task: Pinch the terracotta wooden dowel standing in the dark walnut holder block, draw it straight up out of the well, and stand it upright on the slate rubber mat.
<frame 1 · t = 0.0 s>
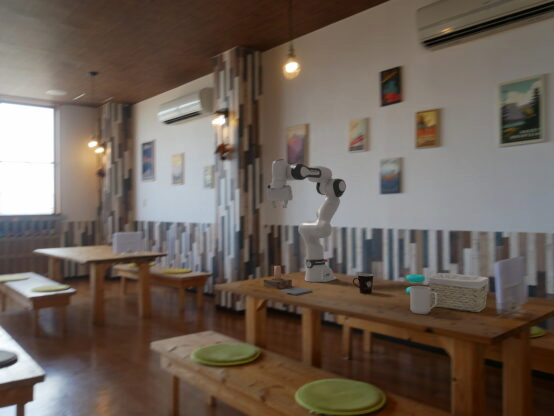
hand: (279, 208, 275), 48 cm above the table, fingers open, 8 cm apart
mug: (423, 313, 204), on the table
holder block: (277, 287, 271), on the table
slate mat: (295, 292, 257), on the table
storage basket: (458, 307, 213), on the table
donuts: (415, 293, 247), on the table
dowel pin: (277, 286, 271), point 1 cm above the table, touching holder block
coffee mug: (363, 293, 252), on the table
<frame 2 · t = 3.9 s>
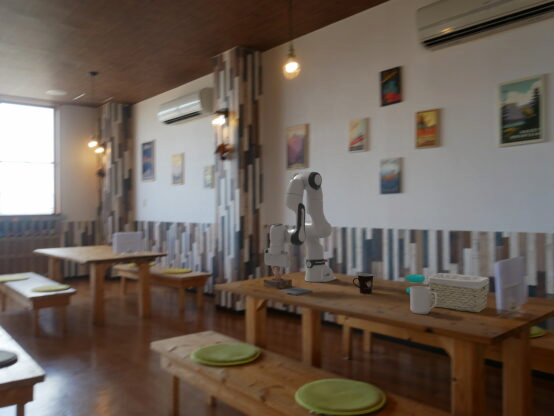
hand: (277, 273, 271), 9 cm above the table, fingers closed on dowel pin, 4 cm apart
dowel pin: (277, 286, 271), point 1 cm above the table, touching gripper, holder block
everything else where it was.
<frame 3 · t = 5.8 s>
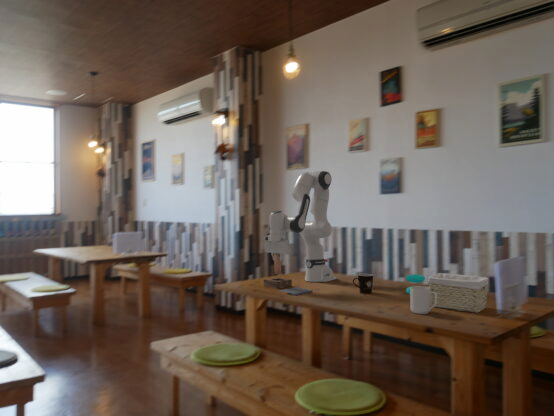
hand: (277, 260, 271), 16 cm above the table, fingers closed on dowel pin, 4 cm apart
dowel pin: (278, 273, 271), point 9 cm above the table, touching gripper
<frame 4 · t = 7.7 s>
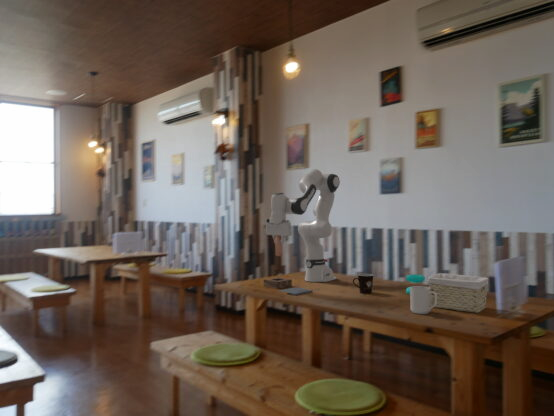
hand: (278, 243, 269), 27 cm above the table, fingers closed on dowel pin, 4 cm apart
dowel pin: (278, 255, 269), point 20 cm above the table, touching gripper
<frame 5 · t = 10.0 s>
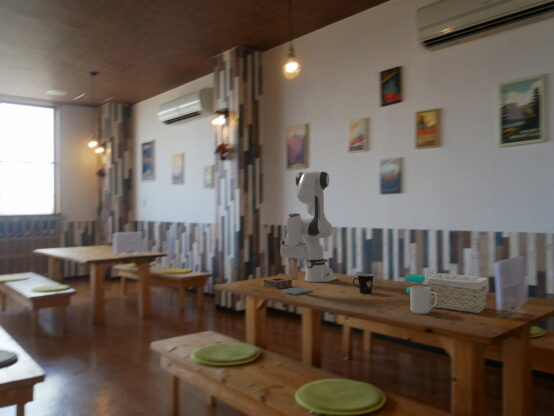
hand: (294, 266, 257), 15 cm above the table, fingers closed on dowel pin, 4 cm apart
dowel pin: (294, 279, 257), point 7 cm above the table, touching gripper
when the fingers open (10 cm above the table, at t = 11.8 s): dowel pin stays where it is, resting on slate mat.
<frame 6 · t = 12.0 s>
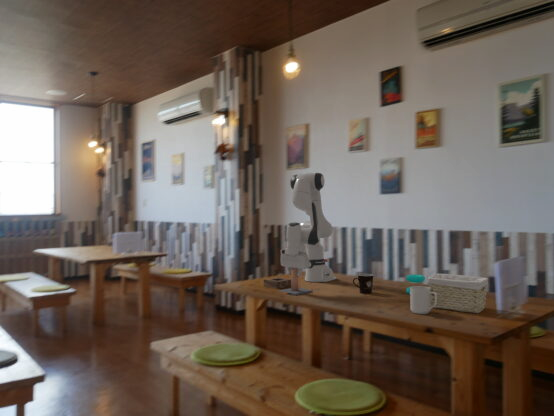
hand: (294, 275, 257), 10 cm above the table, fingers open, 5 cm apart
dowel pin: (294, 290, 257), point 1 cm above the table, touching slate mat
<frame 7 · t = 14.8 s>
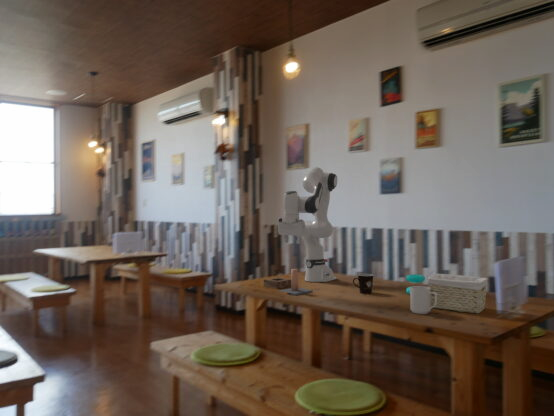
hand: (292, 243, 259), 28 cm above the table, fingers open, 8 cm apart
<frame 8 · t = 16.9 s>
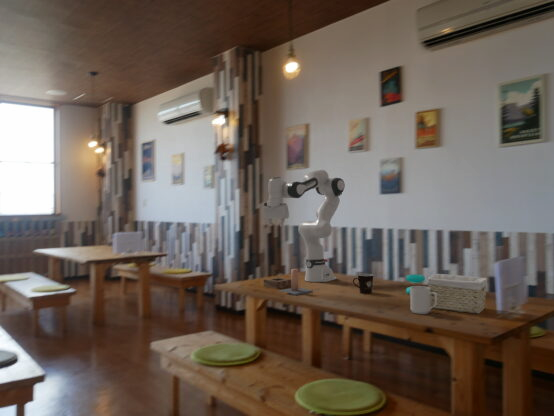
hand: (276, 226, 276), 37 cm above the table, fingers open, 8 cm apart
at the end: dowel pin inside the target area on the slate mat (0.1 cm from its centre), point 1.0 cm above the slate mat's base; dowel pin tilted 0°; the gripper is holding nothing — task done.
